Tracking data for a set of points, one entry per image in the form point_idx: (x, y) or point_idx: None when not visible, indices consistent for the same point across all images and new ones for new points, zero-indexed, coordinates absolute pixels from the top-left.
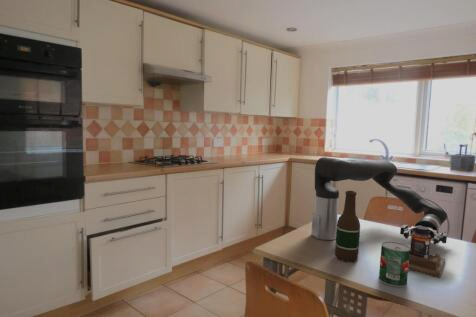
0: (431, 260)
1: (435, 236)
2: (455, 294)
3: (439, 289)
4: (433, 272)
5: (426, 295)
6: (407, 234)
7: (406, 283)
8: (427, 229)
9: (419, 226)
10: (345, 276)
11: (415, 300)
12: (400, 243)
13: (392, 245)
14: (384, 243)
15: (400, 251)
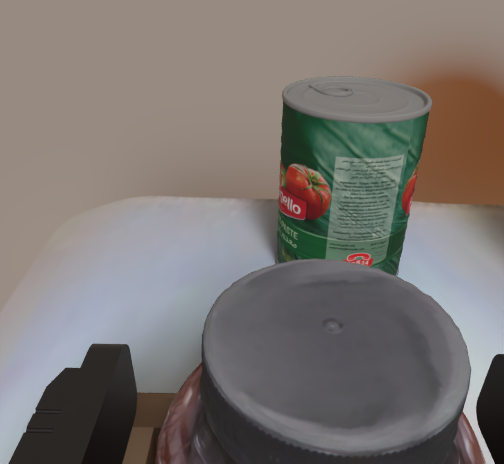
0: (166, 409)
1: (80, 427)
2: (79, 287)
3: (142, 292)
4: (156, 397)
5: (197, 234)
6: (491, 369)
7: (277, 251)
8: (221, 295)
9: (406, 371)
10: (480, 214)
11: (228, 201)
12: (355, 115)
13: (375, 101)
14: (421, 103)
15: (312, 81)
